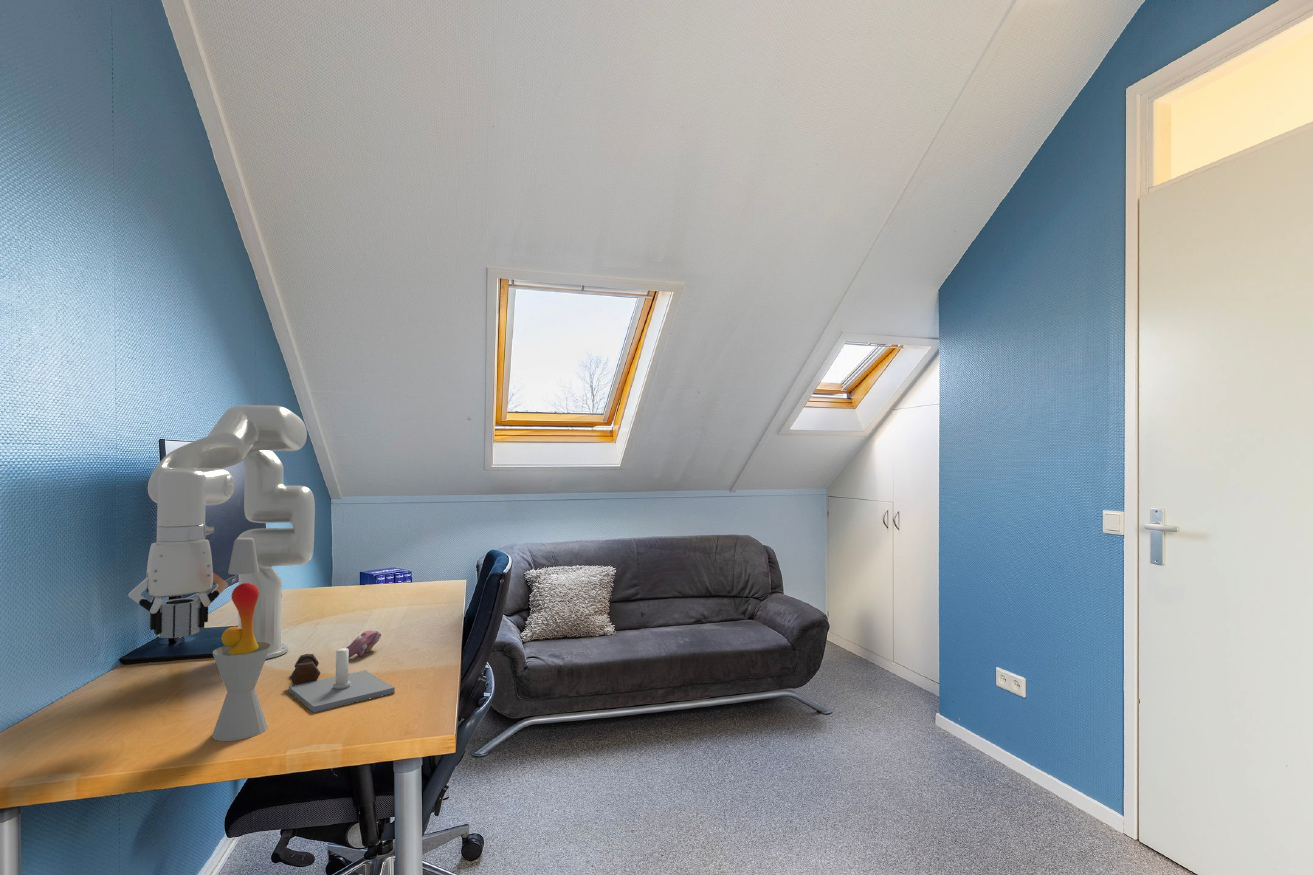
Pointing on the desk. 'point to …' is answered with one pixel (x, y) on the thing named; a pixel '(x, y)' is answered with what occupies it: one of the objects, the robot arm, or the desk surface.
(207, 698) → the desk surface
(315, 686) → the post stand
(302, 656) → the bolt
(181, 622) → the collar
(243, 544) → the lava lamp
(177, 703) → the desk surface
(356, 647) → the pink animal figurine
